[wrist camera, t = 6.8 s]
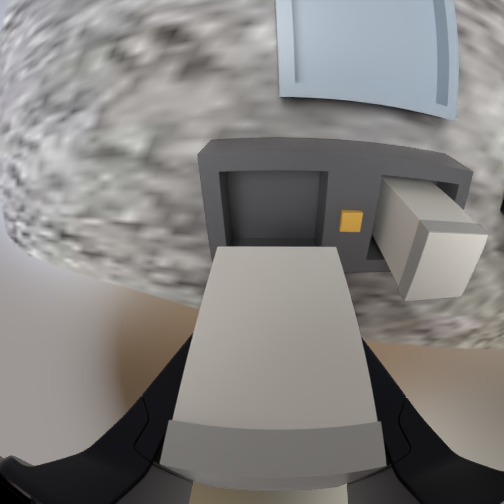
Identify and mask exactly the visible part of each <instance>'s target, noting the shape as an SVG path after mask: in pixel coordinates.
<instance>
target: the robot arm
mask: <svg viewBox="0 0 504 504" xmlns="http://www.w3.org/2000/svg"><path fill="white" fill-rule="evenodd" d="M501 212H502V213H503V214H504V202H503V205H502V209H501ZM193 333H194V332H193ZM192 337H193V334H192V335H191V336H190V337H189V338H188V340H187V341H186V342H185V343H184V344H183V346H182V347H181V348H180V349H179V351H178V352H177V353H176V354H175V355H174V357H173V358H172V359H171V360H170V362H169V363H168V364H167V365H166V366H165V368H164V369H163V370H162V371H161V372H160V374H159V375H158V376H157V377H156V379H155V380H154V381H153V382H152V383H151V385H150V386H149V387H148V388H147V389H146V391H145V392H144V393H143V395H142V396H140V398H139V399H138V400H137V401H136V402H135V404H134V405H133V406H132V407H131V408H130V409H129V411H128V412H127V413H126V414H125V415H124V416H123V417H122V418H121V419H120V420H119V421H118V422H117V423H116V424H115V425H114V426H113V427H112V428H110V429H109V430H108V431H107V432H106V433H105V434H104V435H103V436H102V437H101V438H100V439H99V440H97V441H96V442H95V443H94V444H93V445H92V446H91V447H89V448H88V449H86V450H84V451H83V452H81V453H78V454H76V455H73V456H69V457H66V458H63V459H60V460H56V461H52V462H49V463H45V464H41V465H37V466H33V465H31V464H29V463H27V462H25V461H23V460H21V459H19V458H17V457H15V456H8V457H6V458H2V457H1V456H0V504H189V499H190V494H191V490H192V485H193V480H190V479H188V478H186V477H184V476H182V475H180V474H178V473H176V472H174V471H172V470H170V469H168V468H166V467H164V466H162V465H160V460H161V455H162V450H163V445H164V441H165V436H166V432H167V427H168V423H169V420H173V415H174V411H175V407H176V402H177V398H178V394H179V389H180V385H181V381H182V377H183V373H184V369H185V365H186V361H187V357H188V353H189V349H190V345H191V341H192ZM361 339H362V337H361ZM362 343H363V348H364V352H365V357H366V362H367V366H368V371H369V376H370V381H371V386H372V392H373V397H374V403H375V409H376V415H377V422H379V421H381V426H382V433H383V440H384V448H385V456H386V466H385V467H383V468H381V469H379V470H377V471H375V472H372V473H370V474H368V475H366V476H363V477H361V478H359V479H356V480H354V481H351V482H349V483H347V492H348V504H504V471H499V470H495V469H492V468H490V467H487V466H484V465H481V464H478V463H475V462H472V461H470V460H467V459H465V458H462V457H460V456H459V455H457V454H456V453H454V452H453V451H452V450H451V449H450V448H449V447H448V446H447V445H446V444H445V443H444V442H443V440H442V439H441V438H440V437H439V436H438V435H437V434H436V433H435V432H434V431H433V430H432V428H431V427H430V426H429V425H428V424H427V423H426V422H425V421H424V419H423V418H422V417H421V416H420V414H419V413H418V412H417V411H416V409H415V408H414V407H413V405H412V404H411V403H410V401H409V400H408V398H406V396H405V394H404V393H403V392H402V390H401V389H400V388H399V386H398V385H397V384H396V382H395V381H394V379H393V378H392V377H391V375H390V374H389V373H388V371H387V370H386V369H385V367H384V366H383V365H382V363H381V362H380V361H379V359H378V358H377V357H376V356H375V354H374V353H373V352H372V350H371V349H370V348H369V346H367V344H366V343H365V341H364V340H363V339H362Z"/></svg>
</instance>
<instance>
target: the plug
mask: <svg viewBox="0 0 504 504" xmlns="http://www.w3.org/2000/svg"><path fill="white" fill-rule="evenodd" d="M160 465H162V466H164V467H166V468H168V469H170V470H172V471H174V472H176V473H178V474H180V475H182V476H184V477H186V478H188V479H190V480H193V481H195V482H197V483H199V484H202V485H206V486H212V487H221V488H230V489H242V490H262V491H290V490H291V491H292V490H311V489H323V488H331V487H332V488H333V487H338V486H341V485H343V484H346V483H349V482H351V481H354V480H356V479H359V478H361V477H363V476H366V475H368V474H370V473H372V472H375V471H377V470H379V469H381V468H383V467H385V466H386V456H385V448H384V440H383V433H382V426H381V421H379V422H377V415H376V409H375V403H374V397H373V392H372V386H371V381H370V376H369V371H368V366H367V362H366V357H365V352H364V348H363V343H362V339H361V335H360V331H359V327H358V323H357V319H356V315H355V311H354V307H353V303H352V300H351V296H350V292H349V289H348V285H347V282H346V278H345V275H344V271H343V268H342V265H341V261H340V258H339V255H338V252H337V248H336V247H217V250H216V253H215V257H214V260H213V264H212V267H211V271H210V274H209V278H208V281H207V285H206V289H205V292H204V296H203V299H202V303H201V307H200V310H199V314H198V318H197V322H196V326H195V330H194V333H193V337H192V341H191V345H190V349H189V353H188V357H187V361H186V365H185V369H184V373H183V377H182V381H181V385H180V389H179V394H178V398H177V402H176V407H175V411H174V415H173V420H169V423H168V427H167V432H166V436H165V441H164V445H163V450H162V455H161V460H160Z"/></svg>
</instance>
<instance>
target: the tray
mask: <svg viewBox="0 0 504 504" xmlns="http://www.w3.org/2000/svg"><path fill="white" fill-rule="evenodd" d="M275 17H276V37H277V60H278V90H279V96H280V97H309V98H326V99H338V100H349V101H357V102H365V103H373V104H379V105H386V106H391V107H397V108H402V109H407V110H412V111H417V112H421V113H426V114H430V115H434V116H438V117H442V118H445V119H449V120H453V121H456V113H457V100H458V75H459V60H458V37H457V25H456V15H455V8H454V1H453V0H275Z"/></svg>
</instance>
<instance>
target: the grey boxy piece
mask: <svg viewBox="0 0 504 504" xmlns="http://www.w3.org/2000/svg"><path fill="white" fill-rule="evenodd" d="M198 163H199V171H200V179H201V187H202V195H203V203H204V210H205V217H206V224H207V231H208V238H209V245H210V251H211V257H212V264H213V260H214V257H215V253H216V250H217V247H336V248H337V252H338V255H339V258H340V261H341V265H342V268H343V271H344V273H349V272H391V273H392V275H393V277H394V279H395V281H396V283H397V285H398V291H399V293H400V295H401V297H402V300H403V302H409V301H422V300H434V299H445V298H455V297H461V296H462V295H463V293H464V291H465V289H466V287H467V285H468V283H469V281H470V279H471V276H472V274H473V272H474V270H475V268H476V266H477V263H478V261H479V259H480V257H481V254H482V252H483V249H484V247H485V244H486V242H487V239H488V237H489V234H488V232H487V231H486V230H485V229H484V228H483V227H482V226H481V225H480V224H477V223H476V222H475V221H474V220H473V219H472V218H471V217H470V216H469V215H468V214H467V213H466V212H465V211H464V206H465V203H466V199H467V195H468V191H469V187H470V183H471V179H472V175H473V171H472V170H470V169H469V168H467V167H466V166H464V165H462V164H461V163H459V162H458V161H456V160H455V159H453V158H451V157H450V156H448V155H446V154H443V153H438V152H433V151H427V150H422V149H416V148H409V147H403V146H396V145H388V144H380V143H371V142H361V141H350V140H336V139H318V138H237V139H218V140H211V141H210V142H209V143H208V144H207V145H206V146H205V147H204V148H203V149H202V150H201V151H200V152H199V153H198Z"/></svg>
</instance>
